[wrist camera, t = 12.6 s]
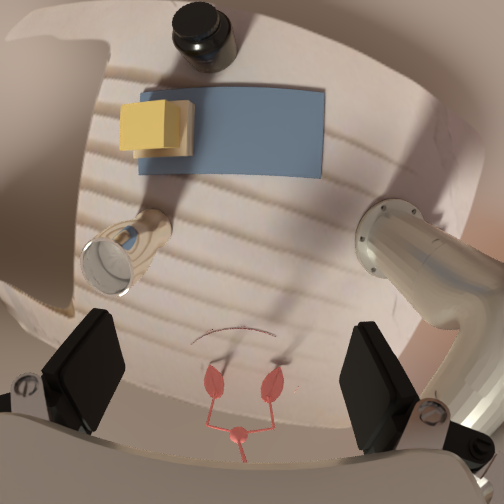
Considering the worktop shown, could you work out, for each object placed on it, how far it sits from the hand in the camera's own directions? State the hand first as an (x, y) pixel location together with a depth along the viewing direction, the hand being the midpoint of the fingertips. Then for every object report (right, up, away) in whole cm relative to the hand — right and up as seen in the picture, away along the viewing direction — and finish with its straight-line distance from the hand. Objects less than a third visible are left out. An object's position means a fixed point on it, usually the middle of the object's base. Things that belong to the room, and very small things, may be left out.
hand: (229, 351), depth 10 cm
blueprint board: (-2, +20, +25) cm, 32 cm away
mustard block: (-10, +19, +21) cm, 29 cm away
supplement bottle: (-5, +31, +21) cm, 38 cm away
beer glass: (-14, +7, +30) cm, 34 cm away
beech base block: (-10, +20, +24) cm, 33 cm away
